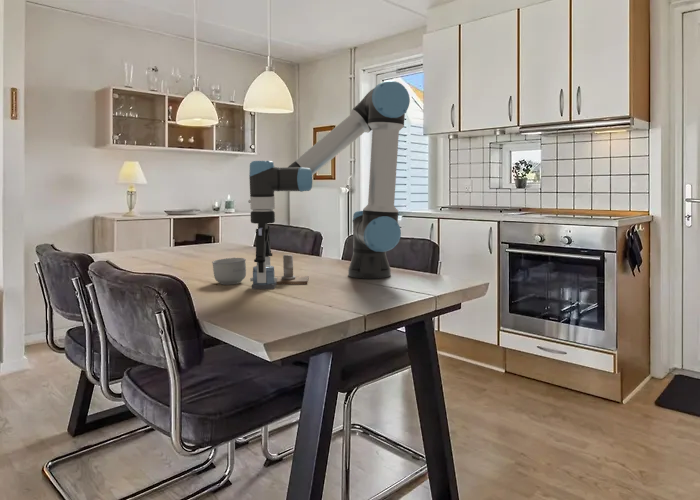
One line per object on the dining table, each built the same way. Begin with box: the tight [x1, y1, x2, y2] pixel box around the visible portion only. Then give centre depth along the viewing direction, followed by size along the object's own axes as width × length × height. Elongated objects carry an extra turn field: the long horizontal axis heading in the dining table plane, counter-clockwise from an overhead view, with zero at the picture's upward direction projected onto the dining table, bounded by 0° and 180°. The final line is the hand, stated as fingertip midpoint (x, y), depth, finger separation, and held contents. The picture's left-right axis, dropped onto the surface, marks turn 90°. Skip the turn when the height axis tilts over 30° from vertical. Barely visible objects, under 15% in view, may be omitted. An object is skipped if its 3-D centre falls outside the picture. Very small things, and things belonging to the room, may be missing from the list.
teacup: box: [211, 257, 247, 286], centre depth 179 cm, size 14×11×8 cm
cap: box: [249, 264, 277, 285], centre depth 171 cm, size 8×7×6 cm
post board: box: [275, 254, 309, 286], centre depth 179 cm, size 13×10×9 cm
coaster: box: [251, 281, 278, 290], centre depth 171 cm, size 7×7×1 cm
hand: (264, 279), depth 171 cm, fingers open, 11 cm apart
